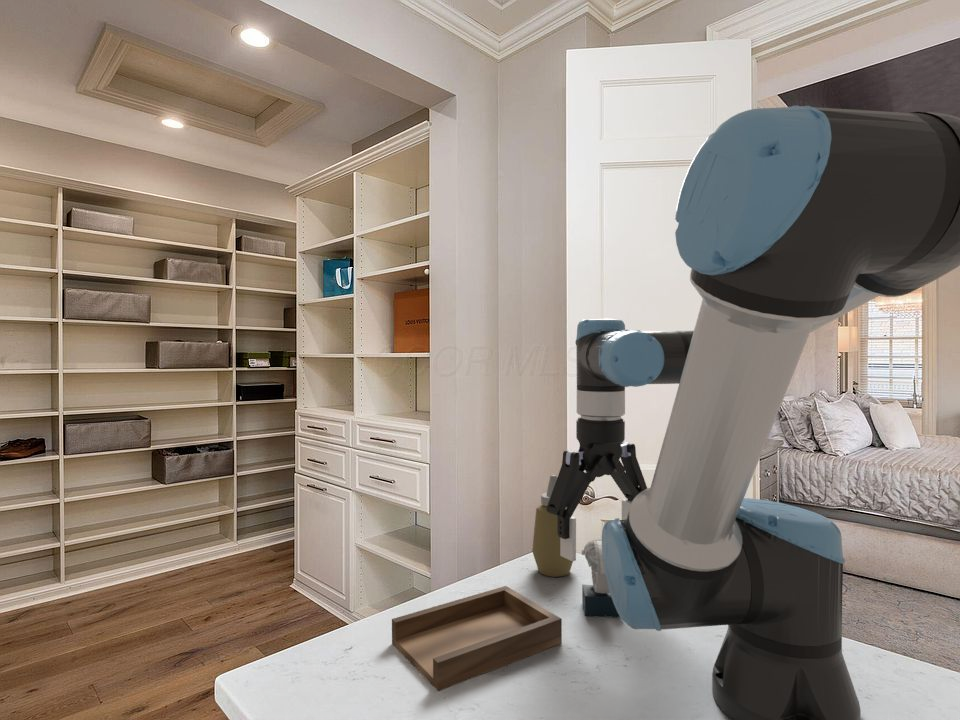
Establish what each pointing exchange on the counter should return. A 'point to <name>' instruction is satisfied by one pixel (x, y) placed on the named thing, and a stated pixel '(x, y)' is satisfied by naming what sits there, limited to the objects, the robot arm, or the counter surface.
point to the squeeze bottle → (548, 539)
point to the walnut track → (474, 635)
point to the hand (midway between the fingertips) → (599, 549)
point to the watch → (597, 584)
